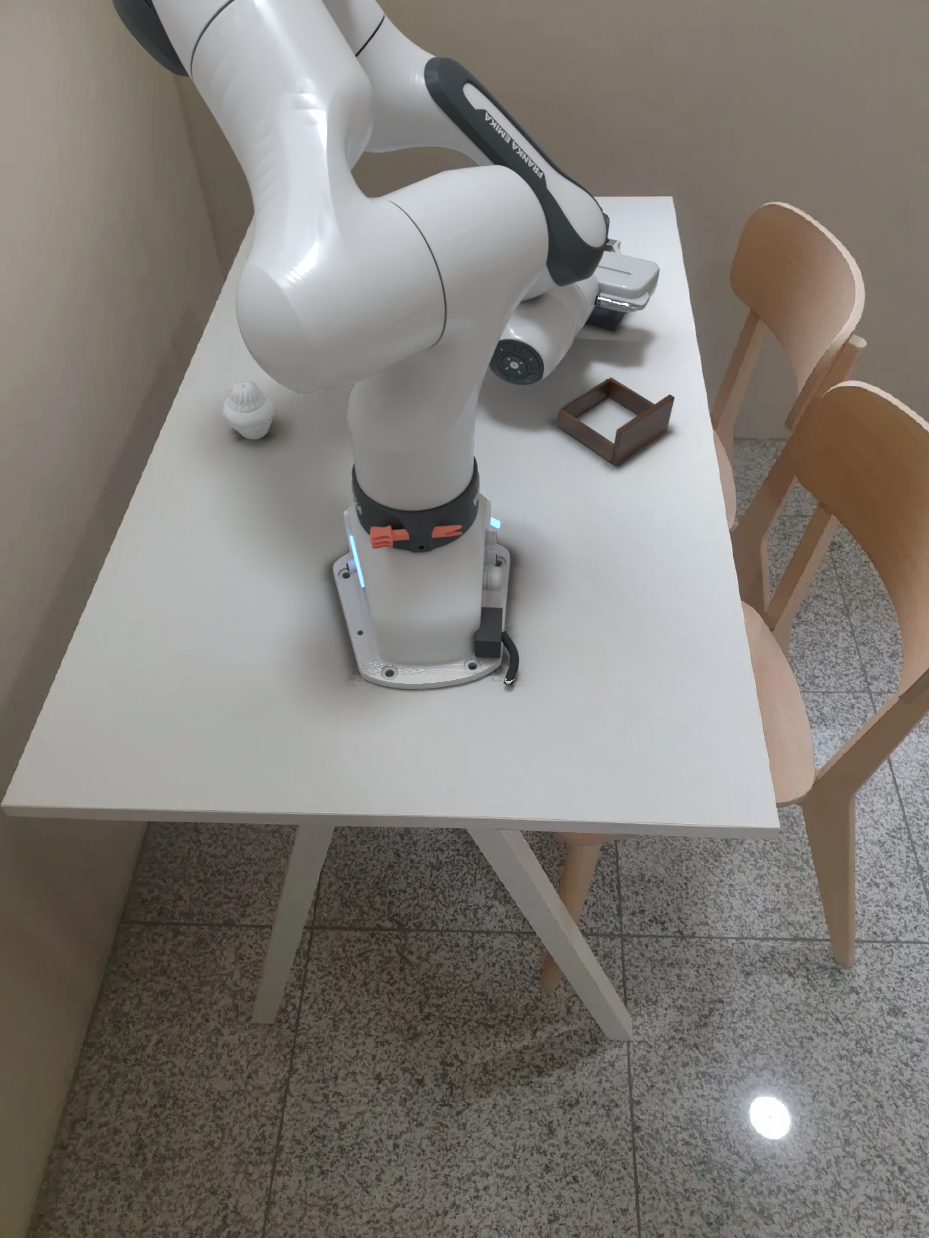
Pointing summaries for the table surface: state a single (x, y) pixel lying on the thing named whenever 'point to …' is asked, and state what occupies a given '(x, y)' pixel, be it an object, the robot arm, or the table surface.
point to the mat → (605, 318)
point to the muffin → (249, 410)
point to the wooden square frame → (629, 435)
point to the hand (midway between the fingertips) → (597, 241)
